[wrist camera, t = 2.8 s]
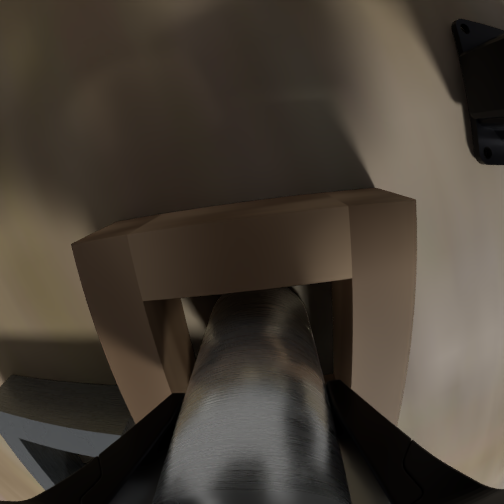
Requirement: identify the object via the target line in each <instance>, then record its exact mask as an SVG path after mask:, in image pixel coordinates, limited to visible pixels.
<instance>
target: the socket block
mask: <svg viewBox="0 0 504 504" xmlns="http://www.w3.org/2000/svg"><path fill="white" fill-rule="evenodd" d="M71 246H72V250H73V254H74V258H75V262H76V266H77V269H78V273H79V277H80V280H81V284H82V287H83V291H84V294H85V297H86V300H87V304H88V307H89V310H90V313H91V316H92V319H93V322H94V325H95V328H96V331H97V334H98V336H99V339H100V342H101V345H102V347H103V350H104V353H105V355H106V358H107V360H108V363H109V365H110V368H111V370H112V373H113V375H114V378H115V380H116V382H117V385H118V387H119V389H120V392H121V394H122V396H123V398H124V401H125V403H126V405H127V407H128V409H129V411H130V414H131V416H132V418H133V420H134V422H135V424H137V423H138V422H139V421H140V420H141V419H143V418H144V417H145V416H146V415H147V414H148V413H150V412H151V411H152V410H153V409H154V408H155V407H157V406H158V405H159V404H160V403H161V402H162V401H164V400H165V399H166V398H167V397H168V396H169V395H170V394H172V393H186V391H187V387H188V384H189V381H190V378H191V375H192V372H193V369H194V366H195V362H196V359H195V355H194V351H193V347H192V343H191V339H190V336H189V332H188V328H187V323H186V319H185V315H184V311H183V307H182V302H181V298H185V297H195V296H206V295H216V294H226V293H235V292H245V291H254V290H263V289H271V288H280V287H288V286H297V285H305V284H313V283H320V282H328V281H331V292H332V316H333V366H334V374H327V375H323V377H324V381H325V385H326V382H327V381H331V380H337V379H340V380H342V381H343V382H344V383H345V384H346V385H347V386H349V387H350V388H351V389H352V390H353V391H355V392H356V393H357V394H358V395H359V396H360V397H362V398H363V399H364V400H365V401H366V402H367V403H369V404H370V405H371V406H372V407H373V408H375V409H376V410H377V411H378V412H379V413H381V414H382V415H383V416H384V417H385V418H387V419H388V420H389V421H390V422H391V423H393V424H394V425H395V426H396V427H397V423H398V419H399V414H400V409H401V404H402V398H403V393H404V387H405V381H406V375H407V368H408V361H409V353H410V345H411V336H412V327H413V316H414V303H415V287H416V261H417V217H416V200H415V199H412V198H409V197H405V196H402V195H399V194H395V193H392V192H389V191H385V190H382V189H378V188H367V189H355V190H344V191H334V192H324V193H315V194H305V195H296V196H287V197H279V198H271V199H263V200H255V201H247V202H239V203H232V204H225V205H217V206H210V207H204V208H197V209H190V210H184V211H177V212H171V213H164V214H158V215H152V216H146V217H140V218H134V219H129V220H123V221H117V222H115V223H113V224H111V225H109V226H107V227H105V228H103V229H101V230H98V231H96V232H94V233H92V234H90V235H88V236H86V237H84V238H82V239H80V240H78V241H76V242H74V243H72V244H71Z"/></svg>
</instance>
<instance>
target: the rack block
mask: <svg viewBox="0 0 504 504" xmlns="http://www.w3.org/2000/svg"><path fill="white" fill-rule="evenodd" d="M134 425H135V422H134V420H133V418H132V416H131V414H130V411H129V409H128V407H127V405H126V403H125V401H124V398H123V396H122V394H121V392H120V389H119V387H118V385H100V384H85V383H73V382H63V381H54V380H45V379H37V378H30V377H23V376H16V375H11V376H10V377H9V378H8V379H7V380H6V381H5V382H4V383H3V384H2V385H1V386H0V434H1V435H2V437H3V438H4V439H5V441H6V442H7V444H8V445H9V446H10V448H11V449H12V450H13V452H14V453H15V454H16V456H17V457H18V458H19V460H20V461H21V462H22V463H23V465H24V466H25V467H26V468H27V470H28V471H29V472H30V473H31V474H32V476H33V477H34V478H35V479H36V480H37V481H38V483H39V484H40V485H41V486H42V487H43V488H44V489H45V490H47V489H49V488H51V487H52V486H54V485H56V484H58V483H59V482H61V481H62V480H64V479H66V478H67V477H69V476H70V475H72V474H73V473H75V472H76V471H78V470H79V469H81V468H82V467H83V466H85V465H86V464H85V463H83V462H82V461H81V459H80V458H79V457H78V455H77V454H81V455H86V456H91V457H96V456H98V457H99V454H100V453H101V452H103V451H104V450H105V449H106V448H107V447H109V446H110V445H111V444H112V443H114V442H115V441H116V440H117V439H119V438H120V437H121V436H122V435H123V434H125V433H126V432H127V431H128V430H129V429H131V428H132V427H133V426H134ZM76 453H77V454H76Z"/></svg>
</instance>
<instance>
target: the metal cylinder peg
mask: <svg viewBox="0 0 504 504" xmlns="http://www.w3.org/2000/svg"><path fill="white" fill-rule="evenodd" d="M152 504H352V502H351V497H350V492H349V487H348V483H347V478H346V473H345V468H344V464H343V459H342V454H341V450H340V445H339V441H338V437H337V432H336V428H335V423H334V419H333V415H332V411H331V406H330V402H329V398H328V394H327V390H326V385H325V381H324V377H323V373H322V369H321V365H320V361H319V357H318V353H317V349H316V345H315V341H314V337H313V334H312V330H311V326H310V322H309V318H308V314H307V311H306V308H305V306H304V304H303V303H302V301H301V300H300V298H299V297H298V296H297V295H296V294H295V293H294V292H293V291H291V290H290V289H288V288H287V287H280V288H271V289H263V290H254V291H245V292H235V293H226V294H223V295H222V296H221V297H220V298H219V299H218V300H217V302H216V303H215V305H214V308H213V310H212V313H211V316H210V319H209V322H208V325H207V328H206V331H205V335H204V338H203V341H202V344H201V347H200V350H199V353H198V356H197V359H196V362H195V366H194V369H193V372H192V375H191V378H190V381H189V384H188V387H187V391H186V394H185V397H184V400H183V403H182V407H181V410H180V413H179V416H178V419H177V423H176V426H175V429H174V432H173V435H172V439H171V442H170V445H169V449H168V452H167V455H166V458H165V462H164V465H163V468H162V472H161V475H160V478H159V482H158V485H157V488H156V492H155V495H154V499H153V502H152Z"/></svg>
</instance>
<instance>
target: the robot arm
mask: <svg viewBox="0 0 504 504" xmlns="http://www.w3.org/2000/svg"><path fill="white" fill-rule="evenodd" d="M451 27H452V32H453V35H454V39H455V43H456V47H457V50H458V55H459V60H460V64H461V69H462V73H463V78H464V83H465V89H466V94H467V100H468V107H469V112H470V119H471V127H472V135H473V145H474V154H475V158H476V159H477V161H478V162H479V163H481V164H486V165H504V31H503V30H500V29H497V28H494V27H490V26H487V25H484V24H480V23H476V22H472V21H469V20H465V19H458V20H456V21H455V22H453V23H452V26H451ZM461 27H462V28H463V29H464V31H465V33H464V32H463V31H462V30H461ZM484 148H485V149H486V152H487V154H486V157H485V156H484ZM326 390H327V394H328V398H329V402H330V406H331V411H332V415H333V419H334V423H335V428H336V432H337V437H338V441H339V445H340V450H341V454H342V459H343V464H344V468H345V473H346V478H347V483H348V487H349V492H350V497H351V502H352V504H504V489H496V488H491V487H488V486H485V485H483V484H481V483H479V482H477V481H475V480H474V479H472V478H470V477H468V476H466V475H465V474H463V473H461V472H459V471H458V470H456V469H454V468H452V467H451V466H449V465H447V464H446V463H444V462H442V461H441V460H439V459H438V458H436V457H435V456H433V455H432V454H430V453H429V452H428V451H426V450H425V449H424V448H422V447H421V446H420V445H419V444H417V443H416V442H415V441H414V440H412V441H411V438H410V437H409V436H407V435H406V434H405V433H404V432H402V431H401V430H400V429H399V428H398V427H396V426H395V425H394V424H393V423H391V422H390V421H389V420H388V419H387V418H385V417H384V416H383V415H382V414H381V413H379V412H378V411H377V410H376V409H375V408H373V407H372V406H371V405H370V404H369V403H367V402H366V401H365V400H364V399H363V398H362V397H360V396H359V395H358V394H357V393H356V392H355V391H353V390H352V389H351V388H350V387H349V386H347V385H346V384H345V383H344V382H343V381H342V380H340V379H337V380H331V381H327V382H326ZM185 394H186V393H172V394H170V395H169V396H168V397H167V398H166V399H165V400H164V401H162V402H161V403H160V404H159V405H158V406H157V407H155V408H154V409H153V410H152V411H151V412H150V413H148V414H147V415H146V416H145V417H144V418H143V419H141V420H140V421H139V422H138V423H137V424H135V425H134V426H133V427H132V428H131V429H129V430H128V431H127V432H126V433H125V434H123V435H122V436H121V437H120V438H119V439H117V440H116V441H115V442H114V443H112V444H111V445H110V446H109V447H107V448H106V449H105V450H104V451H103V452H101V453H100V454H99V457H98V456H96V457H95V458H94V459H92V460H91V461H90V462H89V463H87V464H86V465H85V466H83V467H82V468H81V469H79V470H78V471H76V472H75V473H73V474H72V475H70V476H69V477H67V478H66V479H64V480H62V481H61V482H59V483H58V484H56V485H54V486H52V487H51V488H49V489H47V490H46V491H44V492H42V493H41V494H39V495H37V496H35V497H33V498H31V499H28V500H24V501H0V504H152V502H153V499H154V495H155V492H156V488H157V485H158V482H159V478H160V475H161V472H162V468H163V465H164V462H165V458H166V455H167V452H168V449H169V445H170V442H171V439H172V435H173V432H174V429H175V426H176V423H177V419H178V416H179V413H180V410H181V407H182V403H183V400H184V397H185Z"/></svg>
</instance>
